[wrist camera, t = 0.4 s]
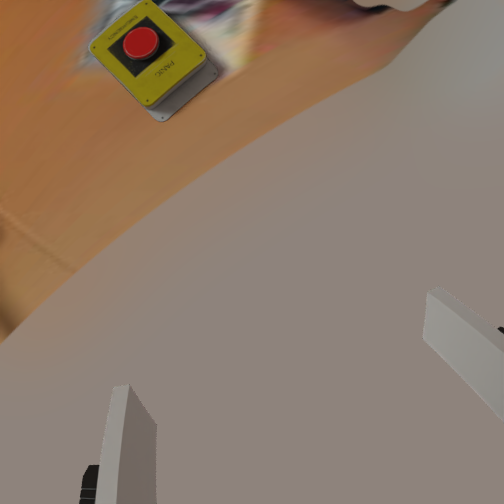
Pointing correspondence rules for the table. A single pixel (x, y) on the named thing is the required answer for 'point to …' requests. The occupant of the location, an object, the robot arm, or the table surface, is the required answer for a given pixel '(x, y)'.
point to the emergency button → (153, 59)
